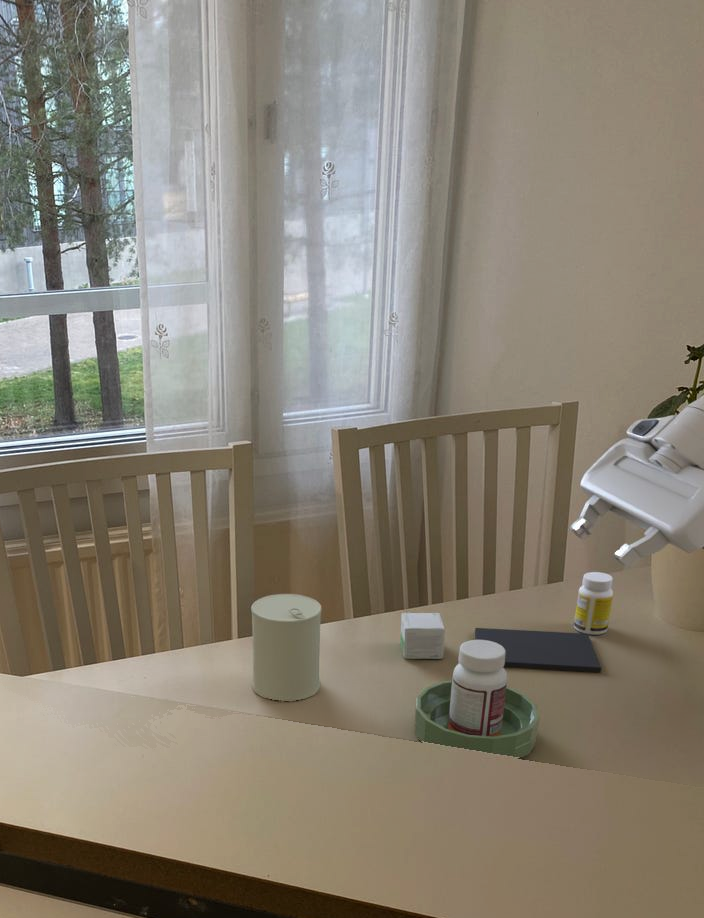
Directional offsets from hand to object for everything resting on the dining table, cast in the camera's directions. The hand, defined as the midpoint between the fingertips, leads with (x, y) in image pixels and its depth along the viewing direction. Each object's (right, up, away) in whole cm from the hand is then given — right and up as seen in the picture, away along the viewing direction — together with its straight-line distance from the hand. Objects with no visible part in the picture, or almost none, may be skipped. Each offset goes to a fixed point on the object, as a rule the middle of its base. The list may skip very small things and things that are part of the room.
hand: (597, 547), depth 102 cm
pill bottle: (-12, -22, +8) cm, 26 cm away
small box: (-13, -12, +30) cm, 35 cm away
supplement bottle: (+13, -9, +35) cm, 39 cm away
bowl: (-12, -22, +8) cm, 26 cm away
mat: (+3, -12, +29) cm, 31 cm away
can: (-33, -17, +22) cm, 43 cm away
